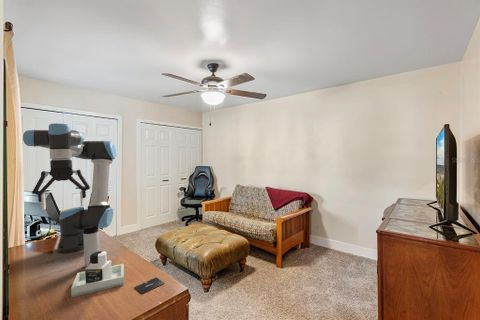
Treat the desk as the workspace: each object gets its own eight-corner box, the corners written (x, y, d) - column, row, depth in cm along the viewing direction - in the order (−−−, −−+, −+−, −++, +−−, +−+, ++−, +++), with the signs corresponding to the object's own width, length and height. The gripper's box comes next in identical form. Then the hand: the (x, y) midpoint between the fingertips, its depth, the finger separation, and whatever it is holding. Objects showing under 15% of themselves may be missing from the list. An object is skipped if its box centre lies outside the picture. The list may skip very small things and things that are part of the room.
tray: (77, 280, 102) (77, 272, 101) (124, 270, 109) (123, 263, 109) (71, 297, 90) (71, 288, 90) (123, 285, 98) (123, 276, 98)
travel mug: (93, 269, 112) (91, 227, 111) (81, 267, 113) (79, 227, 112) (103, 262, 118) (101, 223, 117) (92, 261, 119) (90, 223, 118)
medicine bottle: (85, 285, 96) (84, 256, 96) (96, 276, 103) (95, 249, 103) (102, 285, 96) (101, 256, 96) (112, 276, 103) (111, 249, 103)
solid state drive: (133, 288, 96) (133, 287, 95) (156, 278, 103) (156, 277, 103) (141, 295, 91) (141, 293, 91) (164, 284, 98) (164, 282, 98)
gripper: (20, 160, 93) (23, 213, 94) (93, 158, 105) (96, 205, 106) (26, 160, 100) (29, 209, 101) (95, 158, 111) (97, 202, 112)
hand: (63, 207), depth 103 cm, fingers open, 13 cm apart
